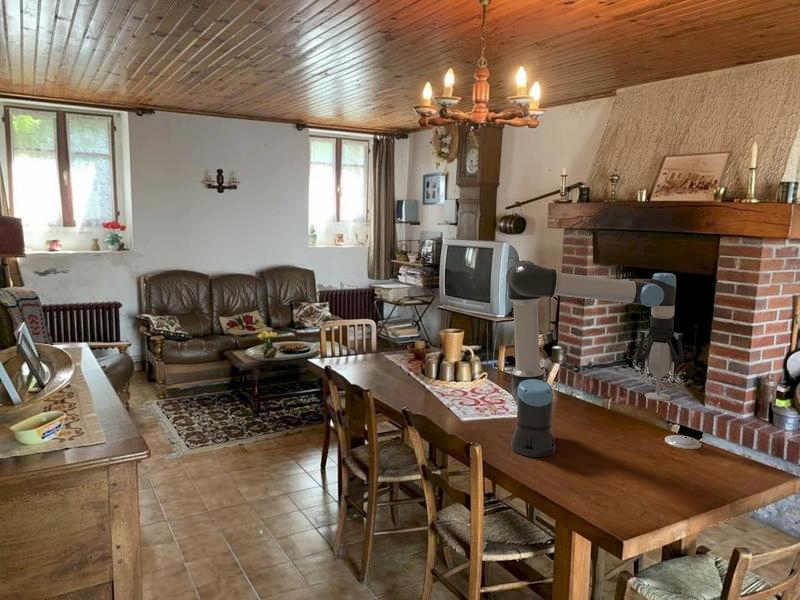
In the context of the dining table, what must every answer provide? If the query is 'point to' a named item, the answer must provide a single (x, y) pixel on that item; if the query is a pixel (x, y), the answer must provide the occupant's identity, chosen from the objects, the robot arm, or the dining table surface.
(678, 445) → the light grey plate
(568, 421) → the dining table surface
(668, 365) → the wineglass
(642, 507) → the dining table surface
